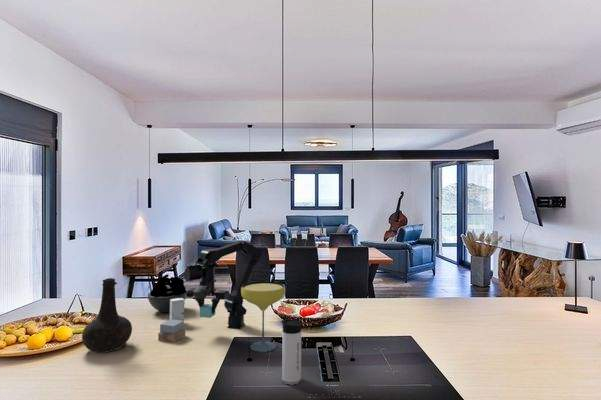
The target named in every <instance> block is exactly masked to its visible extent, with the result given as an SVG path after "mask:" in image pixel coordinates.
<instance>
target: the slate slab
mask: <svg viewBox="0 0 601 400" xmlns="http://www.w3.org/2000/svg"><path fill="white" fill-rule="evenodd" d="M183 329H185V320H184V321H180V320H172V319H170V318H169V319H168V320H166V321H164V322H162V323H160V324H159V333H160V332H161V333H168V334H175V333H177V332H179V331H181V330H183Z"/></svg>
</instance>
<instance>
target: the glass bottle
mask: <svg viewBox="0 0 601 400" xmlns="http://www.w3.org/2000/svg"><path fill="white" fill-rule="evenodd" d="M117 284H118V282H117V281H116V279H115V278H113V277H111V278H110V277H109V278H104V279H103V280H102V284H101V285H102V293H101V301H100V307H99V311H98V314H97V316H96V317H95V318H94V319H93V320H92V321H90V322H88V324H86V325H85V327H84V329H83V330H82V334H81V340H82V343H83V345H84V347H86V349H88V351H91V352H93V353H108V352H109V353H110V352H113V351H116V350H119V349H120V348H122V347H123V346H124V345H125V344H126V343H127V342H128V341H129V340H130V337H131V336H132V331H133V326H132V323H131V321H130V320H129V319H128V318H126V317H125V316H123V315H119V313H118V311H117V304H116V302H117V301H116V286H115V285H117Z"/></svg>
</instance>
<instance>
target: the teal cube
mask: <svg viewBox="0 0 601 400" xmlns="http://www.w3.org/2000/svg"><path fill="white" fill-rule="evenodd" d="M215 315H216V311H215V312H214V313H213V314H212V303H211V304H210V303H204V305H202V306H200V307H199V318H204V319H205V318H208V319H211V318H213V317H214V316H215Z"/></svg>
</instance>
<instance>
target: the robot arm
mask: <svg viewBox="0 0 601 400" xmlns="http://www.w3.org/2000/svg"><path fill="white" fill-rule="evenodd" d="M239 251H241V252H242V253H244V257H243V259H244V261H243V262H244V264H243V266H242V268H241V271H240V274H239V276H238V278H237V280H236V283H235V286H234V288H233V290H232V292H231V293H230V292H229V290H223V289H222V290H221V289H220V290H219V291H217V288H215V283H216V282H217V279H216V278H215V276H216V275H215V274H216V273H215V270H216V268H219V267H220V265H218V263H217V262H218V261H219V260H221V258H223V257H225V256H228V255H231V254H234V253H236V252H239ZM262 257H263V252H262V249H261V248H260V247H256V246H254V245H252V244H250V243H248V242H247V241H245V240H237V241H236V242H232V243H229V244H227V245H224V246H221V247H217V248H209V249H207V248H206V249H203V250H202V251H200V253H199V257H197V259H196V261H195V262H194V264H186V267H185V269H184V272H183V277H184V281H186V282H192V281H199V285H198V286H197V287H196V288H195V287H192V288H190V289H188V290H186V291H187V292H186V298H192V300H194V301H196V302H197V305H198V307H199V308H200V306H202V305H204V304H205V300H206V299H205V298H206V297H213V298H212V299H211V300H210V301H211V302H212V303H211V304H212V314H213V313H214V312H215V313H216V310H217V307H218V305H219V303H220V301H222V300H224V301H223V302H224V303H223V306H224V308H225V309H226V311H227V313H228V318H227V321H228V323H227V328H229V329H235V330H237V329H238V330H240V329H242V328H243V327H245V325H246V323H245V319H244V318H245V317H244V316H245V315H247V311H248V310H247V308H245V306H243V303H244V298H243V297H242V295H241V287H242V286H243V285H244V284H247V283H249V280H250V277H251V274H252V272H253V269H254V267H255V266H256V265H257V264H258V263H259V262H260V260H261V258H262Z"/></svg>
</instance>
